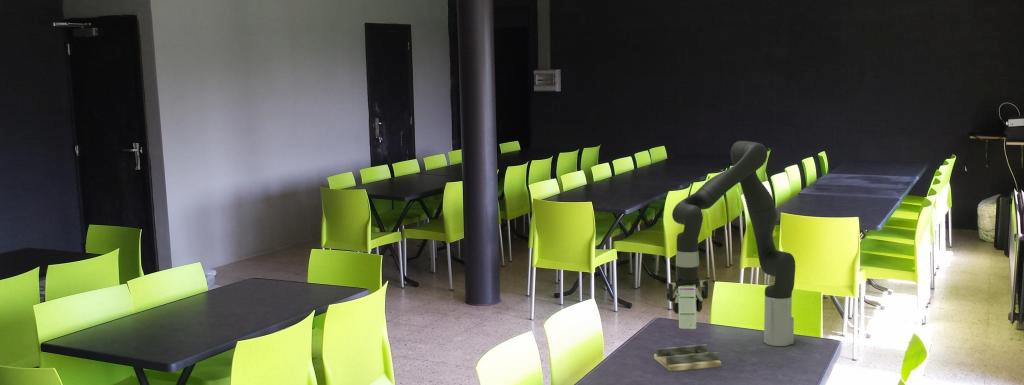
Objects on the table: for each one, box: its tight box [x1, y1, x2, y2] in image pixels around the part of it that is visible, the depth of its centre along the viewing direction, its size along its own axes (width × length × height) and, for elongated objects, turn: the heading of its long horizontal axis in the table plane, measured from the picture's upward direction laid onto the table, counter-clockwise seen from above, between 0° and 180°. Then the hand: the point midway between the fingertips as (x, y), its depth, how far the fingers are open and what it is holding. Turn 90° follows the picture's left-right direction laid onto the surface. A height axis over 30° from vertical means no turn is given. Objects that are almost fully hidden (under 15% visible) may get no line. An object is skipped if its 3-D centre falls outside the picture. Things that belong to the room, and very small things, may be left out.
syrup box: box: [678, 285, 697, 330], centre depth 297 cm, size 6×6×14 cm
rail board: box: [653, 343, 722, 372], centre depth 299 cm, size 18×14×4 cm
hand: (687, 312), depth 297 cm, fingers closed on syrup box, 7 cm apart
